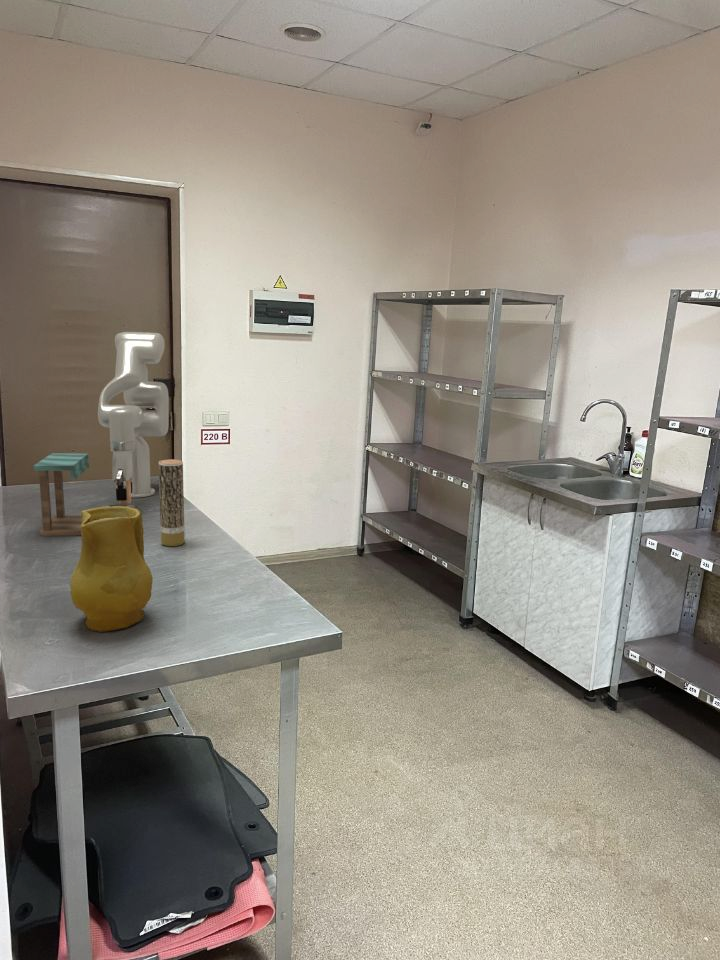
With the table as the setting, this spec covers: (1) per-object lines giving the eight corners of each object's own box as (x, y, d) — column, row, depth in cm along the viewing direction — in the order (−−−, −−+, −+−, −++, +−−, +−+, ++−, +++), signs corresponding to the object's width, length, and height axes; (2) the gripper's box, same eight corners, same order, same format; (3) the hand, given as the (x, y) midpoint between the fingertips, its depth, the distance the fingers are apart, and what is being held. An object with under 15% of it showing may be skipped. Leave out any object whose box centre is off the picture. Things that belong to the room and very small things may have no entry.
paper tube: (187, 540, 206) (186, 460, 200) (179, 547, 199) (177, 464, 194) (166, 539, 207) (163, 458, 201) (157, 546, 200) (154, 463, 194)
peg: (120, 514, 230) (118, 473, 226) (132, 514, 230) (131, 474, 227) (118, 517, 226) (116, 476, 223) (130, 517, 226) (129, 476, 223)
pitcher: (58, 618, 152) (51, 510, 146) (137, 596, 164) (133, 497, 159) (91, 645, 140) (84, 530, 134) (173, 620, 153) (170, 514, 147)
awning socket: (56, 519, 221) (51, 453, 216) (142, 519, 225) (139, 454, 220) (39, 536, 204) (33, 465, 199) (132, 536, 208) (129, 466, 203)
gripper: (116, 441, 230) (118, 490, 234) (104, 450, 214) (107, 503, 217) (139, 441, 231) (140, 490, 235) (129, 451, 215) (131, 503, 218)
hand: (124, 496), depth 226 cm, fingers open, 9 cm apart
